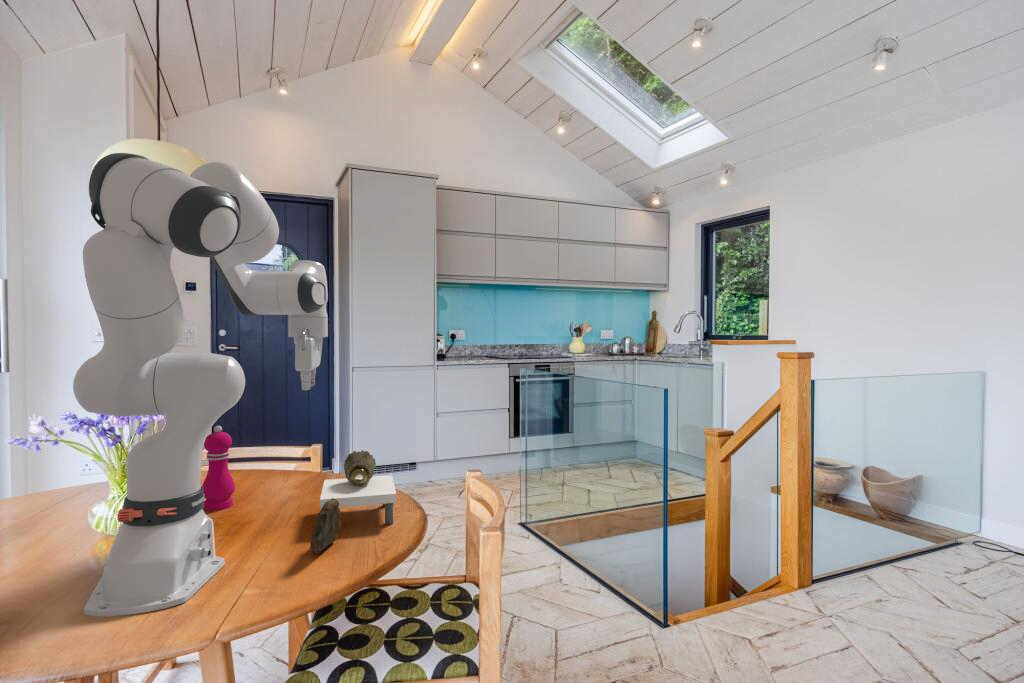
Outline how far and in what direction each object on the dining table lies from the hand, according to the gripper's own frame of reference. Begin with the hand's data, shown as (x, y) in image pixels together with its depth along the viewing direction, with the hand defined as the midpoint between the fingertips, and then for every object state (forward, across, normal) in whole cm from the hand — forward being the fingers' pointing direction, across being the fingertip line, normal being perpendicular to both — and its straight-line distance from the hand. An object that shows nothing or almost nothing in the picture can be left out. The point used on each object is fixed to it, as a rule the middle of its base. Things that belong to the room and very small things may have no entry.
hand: (308, 387), depth 128 cm
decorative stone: (+30, -25, -6) cm, 39 cm away
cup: (+20, -9, -12) cm, 25 cm away
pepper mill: (+30, +9, +22) cm, 38 cm away
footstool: (+30, -7, -12) cm, 32 cm away
